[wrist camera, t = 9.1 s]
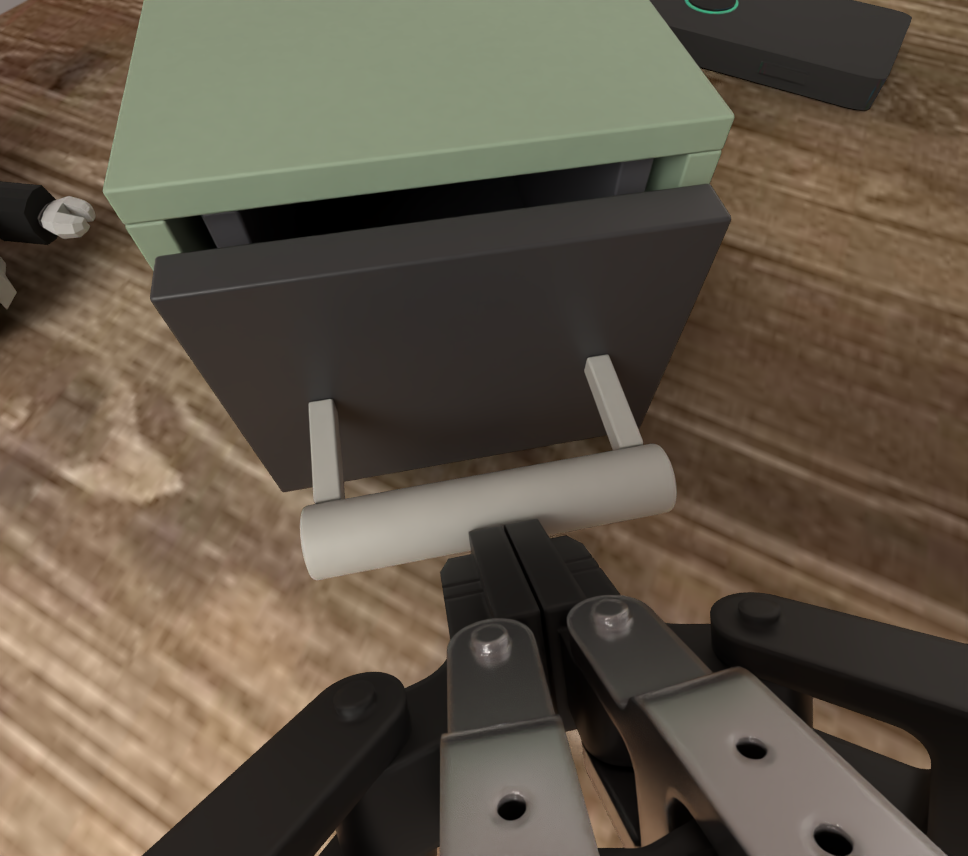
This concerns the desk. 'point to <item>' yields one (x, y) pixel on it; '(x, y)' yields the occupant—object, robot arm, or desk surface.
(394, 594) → the desk surface
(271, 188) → the green drawer cabinet
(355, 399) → the drawer
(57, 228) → the robot toy
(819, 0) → the smart home device
